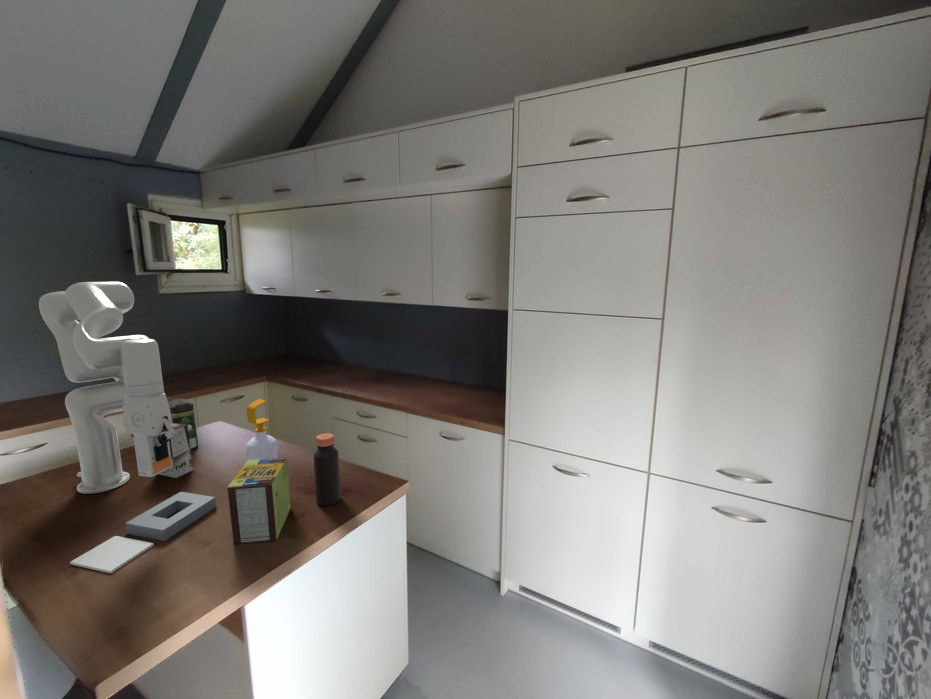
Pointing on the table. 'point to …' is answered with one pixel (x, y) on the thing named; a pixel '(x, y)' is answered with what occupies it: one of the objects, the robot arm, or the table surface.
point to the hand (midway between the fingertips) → (154, 457)
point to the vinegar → (326, 471)
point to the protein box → (259, 500)
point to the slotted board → (162, 528)
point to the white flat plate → (112, 554)
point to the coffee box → (179, 452)
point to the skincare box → (149, 456)
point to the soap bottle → (260, 436)
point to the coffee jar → (184, 417)
